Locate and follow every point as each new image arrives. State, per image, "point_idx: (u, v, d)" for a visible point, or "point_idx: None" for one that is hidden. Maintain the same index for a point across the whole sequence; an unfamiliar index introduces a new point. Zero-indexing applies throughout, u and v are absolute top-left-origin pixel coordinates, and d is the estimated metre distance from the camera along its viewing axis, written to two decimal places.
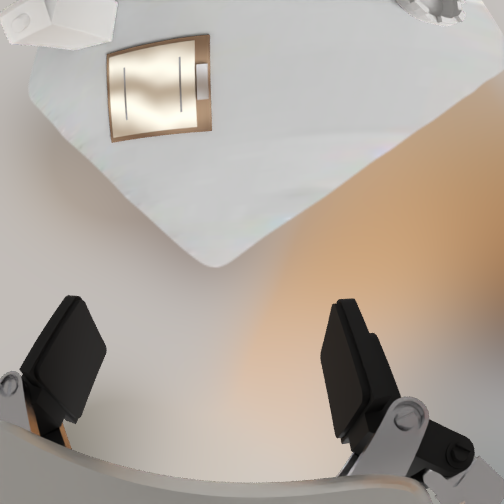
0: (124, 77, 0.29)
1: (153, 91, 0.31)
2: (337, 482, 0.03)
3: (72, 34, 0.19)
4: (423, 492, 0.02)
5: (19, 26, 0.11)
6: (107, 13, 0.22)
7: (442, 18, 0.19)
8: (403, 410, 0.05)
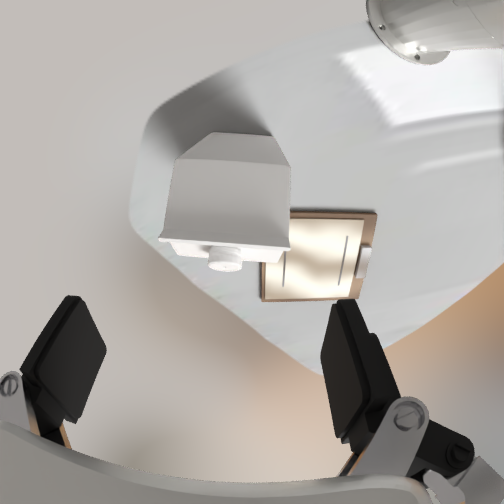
0: None
1: (315, 265, 0.37)
2: (337, 482, 0.03)
3: None
4: (423, 492, 0.02)
5: (228, 268, 0.17)
6: None
7: None
8: (403, 410, 0.05)
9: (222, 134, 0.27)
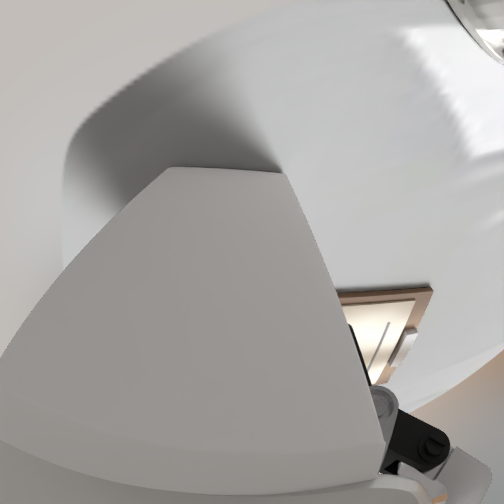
0: None
1: None
2: None
3: None
4: (423, 492, 0.02)
5: None
6: None
7: None
8: None
9: (185, 174, 0.14)
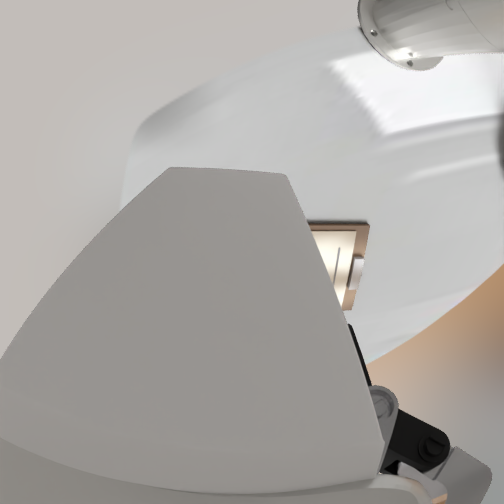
0: None
1: None
2: None
3: None
4: (423, 492, 0.02)
5: None
6: None
7: None
8: None
9: (185, 175, 0.14)
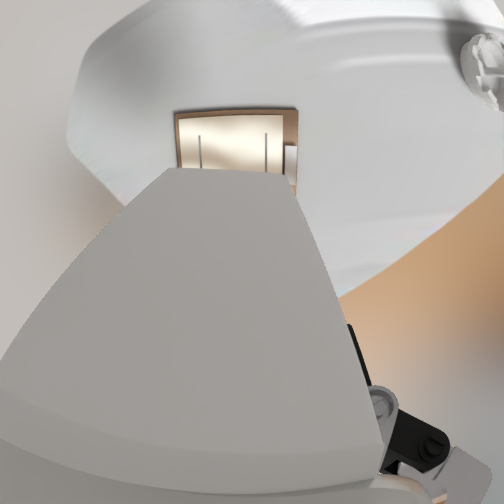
0: (199, 147, 0.32)
1: (235, 169, 0.33)
2: None
3: None
4: (423, 492, 0.02)
5: None
6: None
7: None
8: None
9: (185, 175, 0.14)
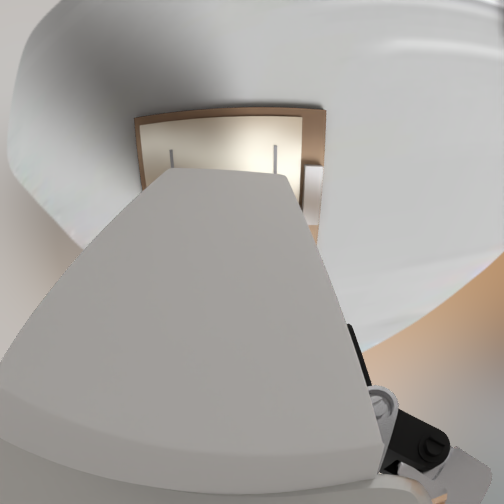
0: None
1: None
2: None
3: None
4: (423, 492, 0.02)
5: None
6: None
7: None
8: None
9: (185, 176, 0.14)
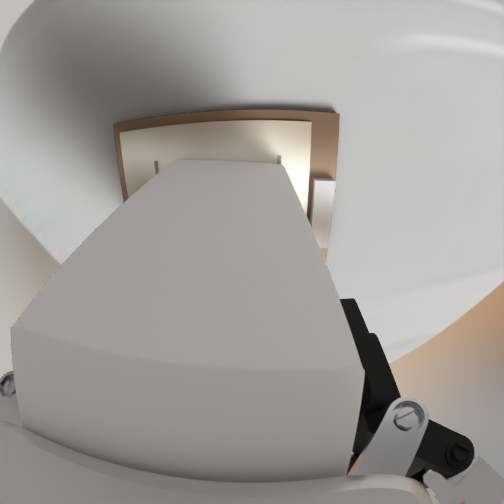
0: None
1: None
2: (337, 482, 0.03)
3: None
4: (423, 492, 0.02)
5: None
6: None
7: None
8: (403, 410, 0.05)
9: (190, 166, 0.15)
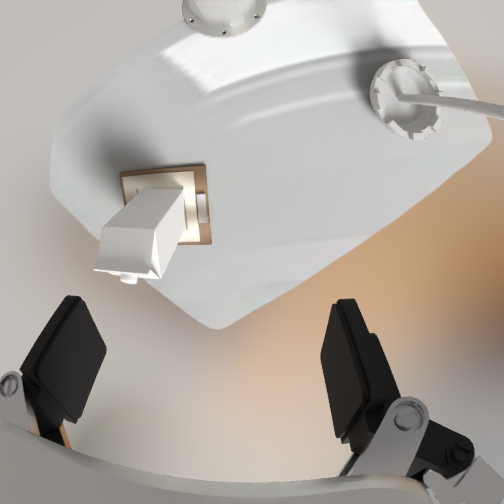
0: None
1: None
2: (337, 482, 0.03)
3: None
4: (423, 492, 0.02)
5: (130, 282, 0.31)
6: (180, 211, 0.42)
7: (414, 135, 0.34)
8: (403, 410, 0.05)
9: (148, 192, 0.41)
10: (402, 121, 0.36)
